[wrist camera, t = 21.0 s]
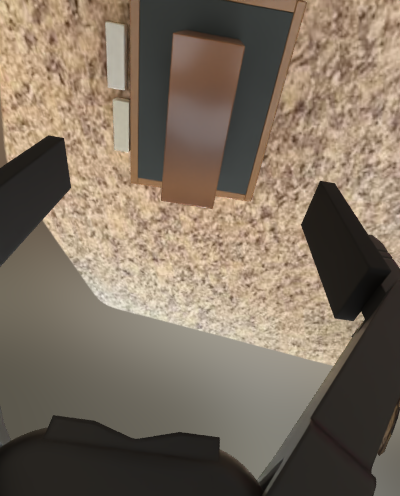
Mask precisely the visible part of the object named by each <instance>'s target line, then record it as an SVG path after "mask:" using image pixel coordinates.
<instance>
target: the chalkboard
mask: <svg viewBox="0 0 400 496" xmlns="http://www.w3.org/2000/svg"><path fill="white" fill-rule="evenodd" d="M306 4H307V2H306V1H301V0H130V131H131V183H134V184H141V185H148V186H154V187H160V188H162V179H163V165H164V151H165V136H166V122H167V108H168V94H169V80H170V66H171V52H172V38H173V33H174V32H178V31H182V30H186V29H187V30H193V31H198V32H204V33H209V34H215V35H220V36H225V37H231V38H236V39H240V41H241V42H242V43H243V44H244V46H245V49H244V54H243V59H242V64H241V69H240V74H239V79H238V84H237V90H236V95H235V100H234V105H233V110H232V115H231V120H230V125H229V130H228V135H227V140H226V145H225V150H224V155H223V160H222V165H221V170H220V175H219V180H218V185H217V190H216V195H215V196H217V197H224V198H230V199H236V200H243V201H249V202H251V200H252V196H253V192H254V189H255V185H256V182H257V178H258V175H259V171H260V168H261V164H262V160H263V157H264V153H265V150H266V146H267V143H268V139H269V136H270V132H271V128H272V125H273V121H274V118H275V114H276V111H277V107H278V104H279V100H280V96H281V93H282V89H283V86H284V82H285V79H286V75H287V72H288V68H289V64H290V61H291V57H292V54H293V50H294V47H295V43H296V40H297V36H298V32H299V29H300V25H301V22H302V18H303V15H304V11H305V8H306Z"/></svg>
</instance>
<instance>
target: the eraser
mask: <svg viewBox="0 0 400 496" xmlns="http://www.w3.org/2000/svg"><path fill="white" fill-rule="evenodd" d="M244 49H245V46H244V44H243V43H242V42H241V41H240V39H236V38H231V37H225V36H220V35H215V34H209V33H204V32H198V31H193V30H187V29H186V30H182V31H178V32H174V33H173V38H172V52H171V66H170V80H169V94H168V108H167V122H166V136H165V151H164V165H163V179H162V193H161V201H166V202H172V203H179V204H185V205H191V206H197V207H204V208H210V209H213V205H214V200H215V195H216V190H217V185H218V180H219V175H220V170H221V165H222V160H223V155H224V150H225V145H226V140H227V135H228V130H229V125H230V120H231V115H232V110H233V105H234V100H235V95H236V90H237V84H238V79H239V74H240V69H241V64H242V59H243V54H244Z"/></svg>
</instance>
